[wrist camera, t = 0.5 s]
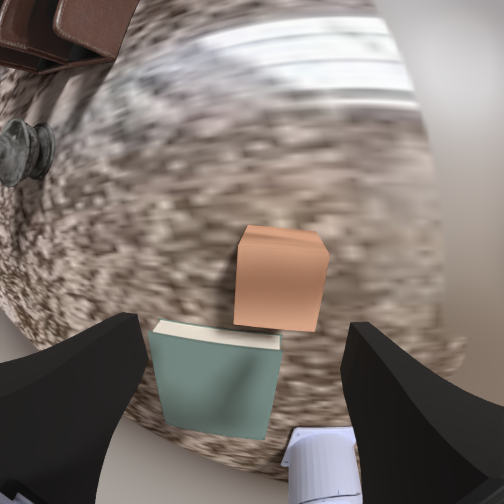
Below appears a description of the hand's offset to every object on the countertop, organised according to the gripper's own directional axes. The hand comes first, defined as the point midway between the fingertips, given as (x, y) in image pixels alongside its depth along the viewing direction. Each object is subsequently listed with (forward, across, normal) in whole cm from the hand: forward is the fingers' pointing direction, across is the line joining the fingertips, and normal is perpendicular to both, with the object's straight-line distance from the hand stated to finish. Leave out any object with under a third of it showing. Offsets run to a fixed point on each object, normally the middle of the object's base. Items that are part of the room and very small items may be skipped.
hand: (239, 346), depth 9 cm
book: (+10, +4, +12) cm, 17 cm away
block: (+10, -1, +1) cm, 11 cm away
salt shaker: (+11, +20, -9) cm, 24 cm away
